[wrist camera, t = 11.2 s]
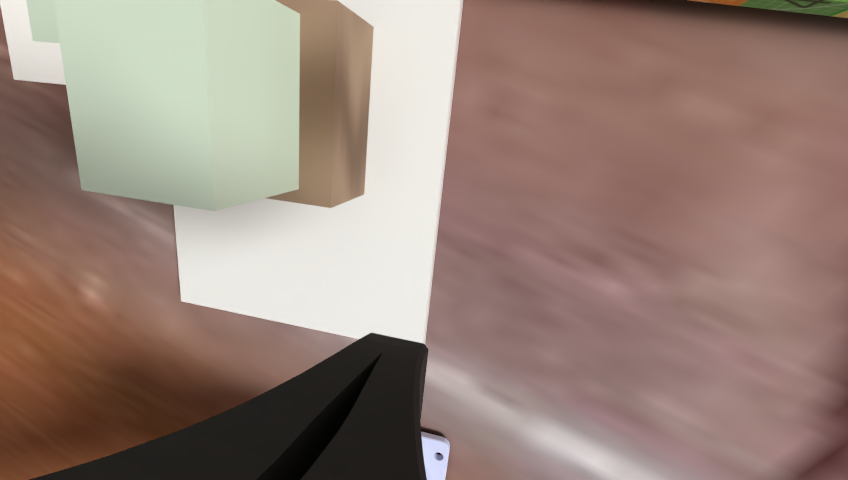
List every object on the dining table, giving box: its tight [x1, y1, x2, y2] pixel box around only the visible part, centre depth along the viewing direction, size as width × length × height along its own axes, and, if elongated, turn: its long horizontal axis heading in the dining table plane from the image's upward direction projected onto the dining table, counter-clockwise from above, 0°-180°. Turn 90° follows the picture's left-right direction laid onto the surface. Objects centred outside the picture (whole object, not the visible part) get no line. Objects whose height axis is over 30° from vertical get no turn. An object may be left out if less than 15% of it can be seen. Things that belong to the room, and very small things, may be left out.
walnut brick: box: [267, 0, 374, 208], centre depth 16 cm, size 7×7×4 cm
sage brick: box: [54, 0, 300, 211], centre depth 13 cm, size 6×4×4 cm
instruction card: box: [0, 0, 66, 85], centre depth 20 cm, size 8×10×1 cm
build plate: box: [173, 0, 463, 344], centre depth 19 cm, size 18×14×1 cm
